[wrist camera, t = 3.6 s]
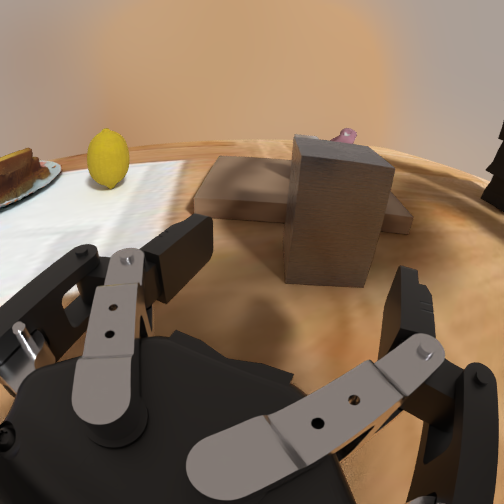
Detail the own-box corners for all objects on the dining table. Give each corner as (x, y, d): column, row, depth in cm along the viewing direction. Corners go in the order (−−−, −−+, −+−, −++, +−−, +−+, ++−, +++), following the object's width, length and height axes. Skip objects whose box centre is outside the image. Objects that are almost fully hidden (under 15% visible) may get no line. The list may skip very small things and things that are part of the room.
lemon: (119, 178, 39) (115, 123, 34) (139, 186, 36) (135, 125, 32) (85, 190, 35) (77, 132, 31) (102, 200, 32) (94, 134, 28)
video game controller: (338, 169, 52) (360, 140, 48) (318, 154, 52) (339, 124, 48) (343, 158, 60) (362, 133, 56) (326, 145, 60) (344, 120, 56)
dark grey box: (282, 241, 26) (293, 136, 21) (347, 246, 26) (367, 146, 21) (285, 283, 21) (301, 155, 16) (363, 287, 21) (395, 168, 16)
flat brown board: (367, 182, 42) (375, 137, 38) (408, 234, 29) (425, 171, 25) (219, 169, 43) (219, 121, 39) (194, 216, 29) (192, 146, 25)
